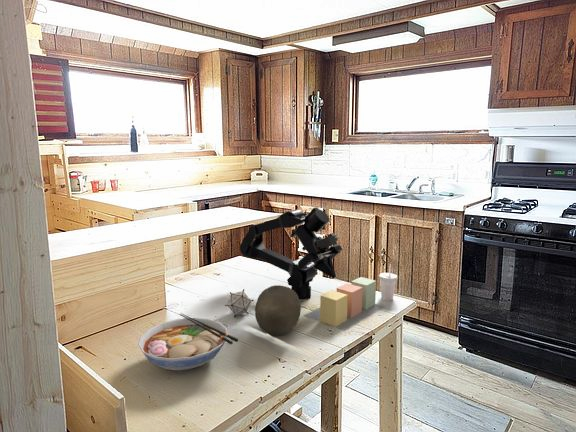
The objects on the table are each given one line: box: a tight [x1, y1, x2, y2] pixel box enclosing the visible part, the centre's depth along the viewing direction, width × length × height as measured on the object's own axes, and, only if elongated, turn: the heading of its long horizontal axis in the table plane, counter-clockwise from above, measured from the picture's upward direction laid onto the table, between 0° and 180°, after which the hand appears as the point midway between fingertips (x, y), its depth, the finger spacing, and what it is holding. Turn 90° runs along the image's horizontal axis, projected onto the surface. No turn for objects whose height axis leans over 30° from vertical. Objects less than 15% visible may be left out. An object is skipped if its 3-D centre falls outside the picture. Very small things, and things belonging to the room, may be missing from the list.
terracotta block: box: [336, 283, 362, 318], centre depth 138 cm, size 6×6×8 cm
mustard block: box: [319, 289, 348, 328], centre depth 132 cm, size 6×6×8 cm
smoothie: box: [378, 263, 398, 301], centre depth 150 cm, size 6×6×14 cm
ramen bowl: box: [137, 312, 239, 371], centre depth 110 cm, size 25×23×8 cm
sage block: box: [350, 276, 377, 309], centre depth 144 cm, size 6×6×8 cm
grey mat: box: [303, 303, 385, 331], centre depth 140 cm, size 16×24×1 cm, turn 138°
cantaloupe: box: [254, 284, 302, 337], centre depth 125 cm, size 14×14×15 cm
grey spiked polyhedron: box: [224, 288, 254, 318], centre depth 140 cm, size 9×8×10 cm
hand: (334, 277), depth 141 cm, fingers closed
